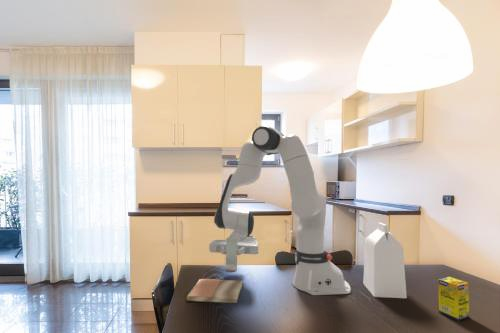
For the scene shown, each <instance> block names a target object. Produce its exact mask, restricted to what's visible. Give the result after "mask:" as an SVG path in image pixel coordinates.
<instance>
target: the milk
mask: <svg viewBox="0 0 500 333" xmlns="http://www.w3.org/2000/svg"><path fill="white" fill-rule="evenodd" d="M404 256H405V255H404V248H403V246H402V244H401V243H400V242H399V241H398V240H397V239H396V236H395V235H394V234H393V233H392V232H390V231H389V226H388V224H385V223H383V222H377V225H376V229H374V231H372V232H371V233H370V234H369V235H367V236H366V238H365V240H364V254H363V285H364V286H365V288H366V289H367V290H368V291H369V292H370V294H371V295H372V296H373V297H374V298H389V299H390V298H394V299H395V298H396V299H408V298H407V282H406V272H405V271H406V270H405V260H404V258H405V257H404Z"/></svg>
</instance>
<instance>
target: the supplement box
mask: <svg viewBox="0 0 500 333" xmlns="http://www.w3.org/2000/svg"><path fill="white" fill-rule="evenodd" d="M437 284H438V286H437V287H438V288H437V289H438V313H439V314H441V313H442V315H444V316H446V317H448V318H451V319H452V320H455V321H457V322H459V321H462V320H465V319H469V318H470V297H469V296H470V295H469V282H467V281H464V280H461V279H457V278H454V277H452V276H447V277H444V278H443V277H442V278H438V283H437ZM468 317H469V318H468Z"/></svg>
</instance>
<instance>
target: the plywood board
mask: <svg viewBox="0 0 500 333" xmlns="http://www.w3.org/2000/svg"><path fill="white" fill-rule="evenodd" d="M242 287H243V281H242V280H233V279H232V280H230V279H229V280H227V279H215V278H213V279H212V278H199V279H198V281H197V282H196V284H195V285H194V286H193V288H192V289H191V290H190V292H188V295H187V296H186V301H187V302H189V301H190V302H205V303H207V302H208V303H225V304H226V303H228V304H237V303H238V300H239V297H240V293H241V289H242Z"/></svg>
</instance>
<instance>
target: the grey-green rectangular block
mask: <svg viewBox="0 0 500 333" xmlns="http://www.w3.org/2000/svg"><path fill="white" fill-rule="evenodd" d="M225 240H226V254H225V268H224V269H225V272H227V273H235V272H237V271H238V255H237V242H238V239H237V238H228V237H226V238H225Z"/></svg>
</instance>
